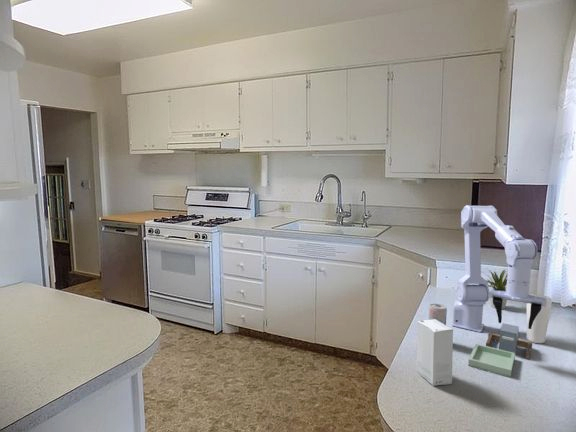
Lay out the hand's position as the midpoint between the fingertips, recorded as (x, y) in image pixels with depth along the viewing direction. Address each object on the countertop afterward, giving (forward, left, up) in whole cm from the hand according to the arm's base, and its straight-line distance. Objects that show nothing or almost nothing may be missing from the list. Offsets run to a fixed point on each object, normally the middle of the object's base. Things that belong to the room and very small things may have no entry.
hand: (514, 324), depth 115 cm
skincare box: (-17, -26, -11) cm, 32 cm away
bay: (-2, +6, -10) cm, 12 cm away
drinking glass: (+5, +19, -11) cm, 23 cm away
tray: (-5, -7, -10) cm, 13 cm away
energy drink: (-22, -2, -11) cm, 24 cm away
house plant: (-10, +50, -11) cm, 52 cm away
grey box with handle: (-2, +6, -10) cm, 12 cm away
